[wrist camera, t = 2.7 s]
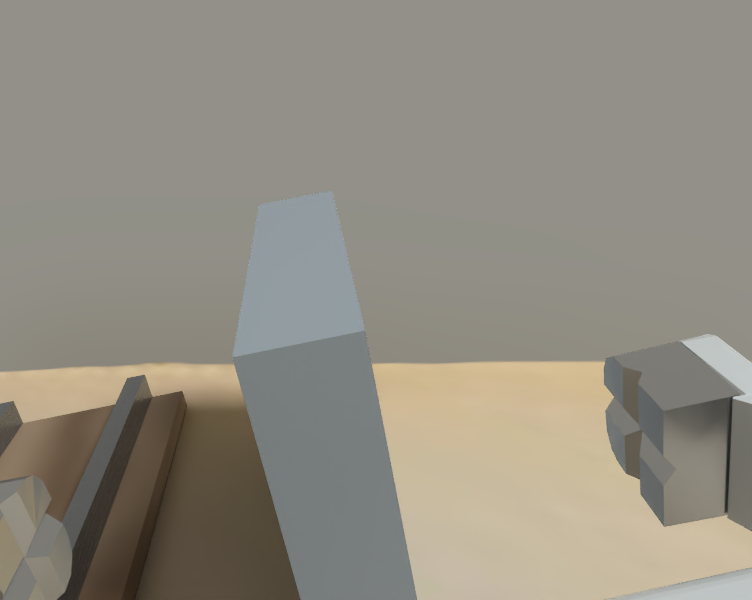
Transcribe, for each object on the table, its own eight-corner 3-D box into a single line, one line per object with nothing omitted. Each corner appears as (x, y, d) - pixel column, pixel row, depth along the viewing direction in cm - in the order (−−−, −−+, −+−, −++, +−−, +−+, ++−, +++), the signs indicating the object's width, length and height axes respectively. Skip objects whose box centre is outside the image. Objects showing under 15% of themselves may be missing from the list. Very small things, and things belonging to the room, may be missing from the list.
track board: (-281, 810, 22) (-325, 758, 21) (-19, 447, 40) (-36, 410, 39) (100, 726, 22) (74, 671, 21) (186, 405, 41) (175, 368, 40)
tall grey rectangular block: (322, 679, 23) (232, 357, 18) (310, 418, 37) (259, 204, 33) (428, 656, 23) (364, 330, 18) (374, 405, 37) (332, 190, 33)
